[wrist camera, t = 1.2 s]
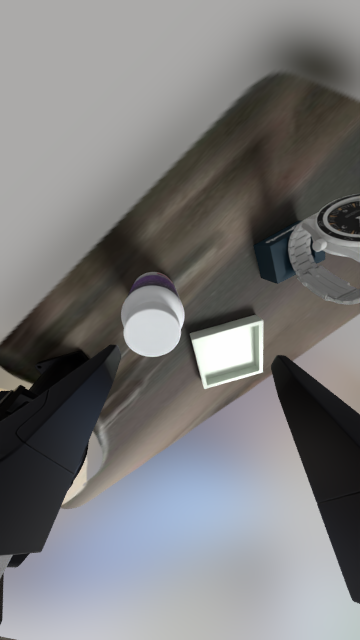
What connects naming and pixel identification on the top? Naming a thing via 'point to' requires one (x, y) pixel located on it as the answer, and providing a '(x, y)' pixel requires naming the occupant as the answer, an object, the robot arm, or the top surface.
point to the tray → (229, 350)
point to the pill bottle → (152, 315)
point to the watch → (315, 250)
